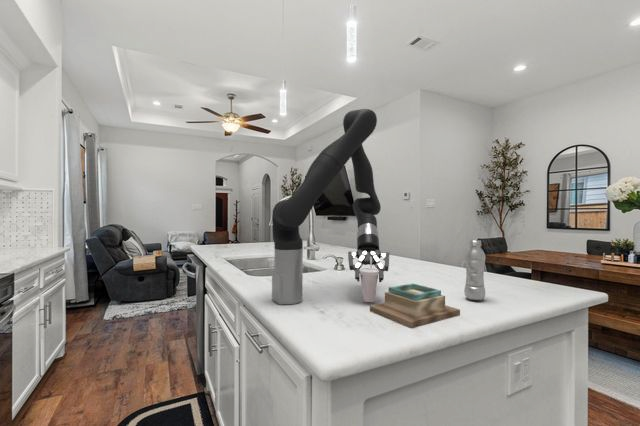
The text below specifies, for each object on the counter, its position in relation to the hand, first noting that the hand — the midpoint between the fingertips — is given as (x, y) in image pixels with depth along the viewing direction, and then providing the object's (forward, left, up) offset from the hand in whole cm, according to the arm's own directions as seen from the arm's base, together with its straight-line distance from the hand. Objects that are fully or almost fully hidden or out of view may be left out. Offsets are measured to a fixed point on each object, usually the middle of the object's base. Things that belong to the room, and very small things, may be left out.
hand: (369, 280), depth 102 cm
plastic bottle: (+34, -14, -8) cm, 38 cm away
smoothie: (+1, +1, -7) cm, 7 cm away
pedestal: (+6, -13, -8) cm, 16 cm away
